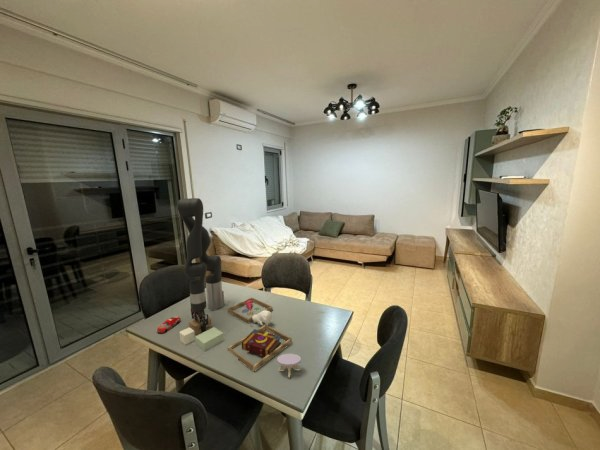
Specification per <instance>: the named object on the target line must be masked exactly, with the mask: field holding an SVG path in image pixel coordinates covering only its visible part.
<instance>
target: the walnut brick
mask: <svg viewBox="0 0 600 450" xmlns="http://www.w3.org/2000/svg"><path fill="white" fill-rule="evenodd" d="M200 320H202V319H200ZM202 324H203V321H202ZM189 327H190V328H191V329H192V330H194V333H195V336H197V335H199V334H201V333H203V332H202V331H201V324H200V322H199V320H198V318H197V319H196V320H194V319H192V320H191V321H189V322H188V328H189ZM211 328H213V327H212V318H210V317H209V316H208V325H206V331H207V330H209V329H211Z"/></svg>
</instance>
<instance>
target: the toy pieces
mask: <svg viewBox="0 0 600 450" xmlns="http://www.w3.org/2000/svg"><path fill="white" fill-rule="evenodd" d="M253 304H254V303H253V302H252V300H249V301H247V302H246V305H245V306H246V307H247V309H245V308H244V309H243V310H242V311H241V313H242V314H245V313H247V314H246V315H247V316H253V314H254V313H255V312H258V311H257V310H259V308H260V307H255V308H254V309H253V310H256V311H255V312H254V311H252V307H253ZM251 312H252V313H251ZM254 315H255V314H254Z"/></svg>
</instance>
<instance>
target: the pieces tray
mask: <svg viewBox="0 0 600 450" xmlns="http://www.w3.org/2000/svg"><path fill="white" fill-rule="evenodd" d="M249 300H252V302H253V303H252V304H256V305H258V306H259V307H260V306H261V307H262V308H264V307H265V308H264V309H265V310H266V311H271V312H272V311H273V306H272V305H270V304H267V303H265V302H264V301H261V300H258V299H256V298H254V297H250V298H246V299H245V300H243V301H240V302H238V303H236V304H235V305H232V306H230V307H228V308H227V313H228V314H230V315H232V316H233V317H235V318H236V319H238V320H240V321H242V322H243V323H246V324H247V325H249V324H251V323H254V321H253V320H252V317H253V316H251V317H248V318H247V317H245V316H244V315H243V314H240V313H239V312H236V311H235V310H237V309H239V308H241V307H244V306H246V302H247V301H249ZM266 308H267V309H266ZM259 313H260V312H259ZM259 313H256V314H255V315H257V314H259Z"/></svg>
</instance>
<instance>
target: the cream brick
mask: <svg viewBox="0 0 600 450" xmlns="http://www.w3.org/2000/svg"><path fill="white" fill-rule="evenodd" d="M195 336H196V335H195V333H194V330H192V329H191V328H190V327H189V326H188V327H187V328H185V329H182V330H180V331H179V341H180V342H181V343H182V344H184V345H187V344H189V343H191V342H192V343H193V342H195Z"/></svg>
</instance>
